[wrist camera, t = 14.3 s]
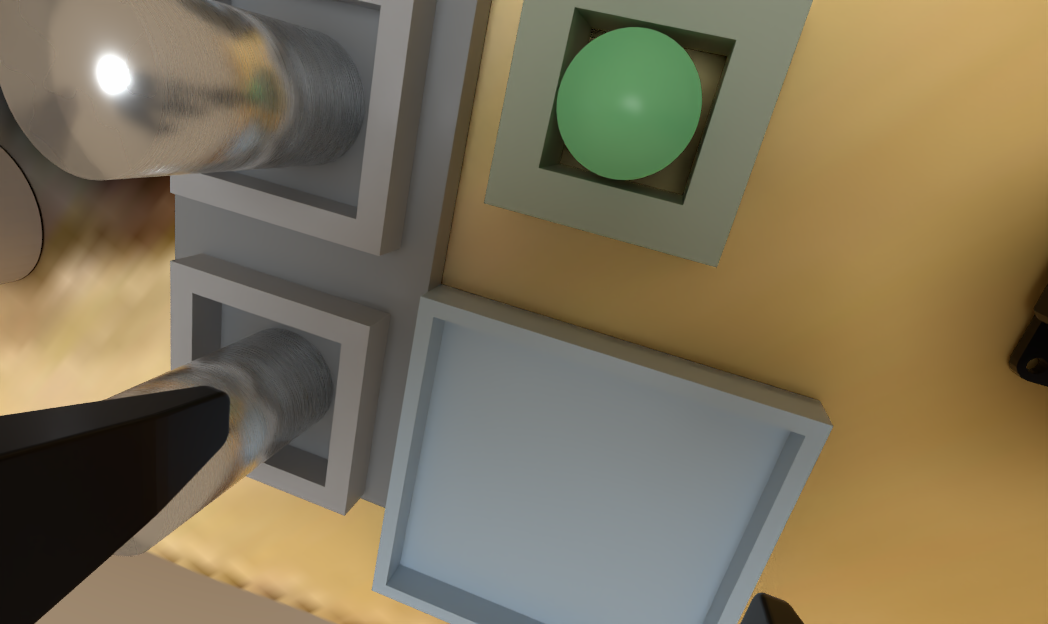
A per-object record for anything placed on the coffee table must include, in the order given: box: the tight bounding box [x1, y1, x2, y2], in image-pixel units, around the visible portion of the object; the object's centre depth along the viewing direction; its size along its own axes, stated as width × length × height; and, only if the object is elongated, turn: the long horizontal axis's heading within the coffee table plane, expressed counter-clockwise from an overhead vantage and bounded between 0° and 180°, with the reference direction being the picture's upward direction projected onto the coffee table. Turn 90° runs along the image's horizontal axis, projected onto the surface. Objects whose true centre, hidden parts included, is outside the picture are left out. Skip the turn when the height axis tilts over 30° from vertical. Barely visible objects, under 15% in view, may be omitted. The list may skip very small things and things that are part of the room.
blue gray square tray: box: [372, 284, 833, 624], centre depth 22 cm, size 14×14×2 cm
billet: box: [105, 328, 333, 556], centre depth 19 cm, size 4×4×8 cm
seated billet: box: [0, 0, 365, 180], centre depth 15 cm, size 4×4×8 cm
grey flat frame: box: [170, 0, 491, 516], centre depth 21 cm, size 11×20×3 cm, turn 167°
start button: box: [557, 27, 702, 180], centre depth 15 cm, size 4×4×3 cm
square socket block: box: [484, 0, 813, 267], centre depth 16 cm, size 7×7×3 cm
